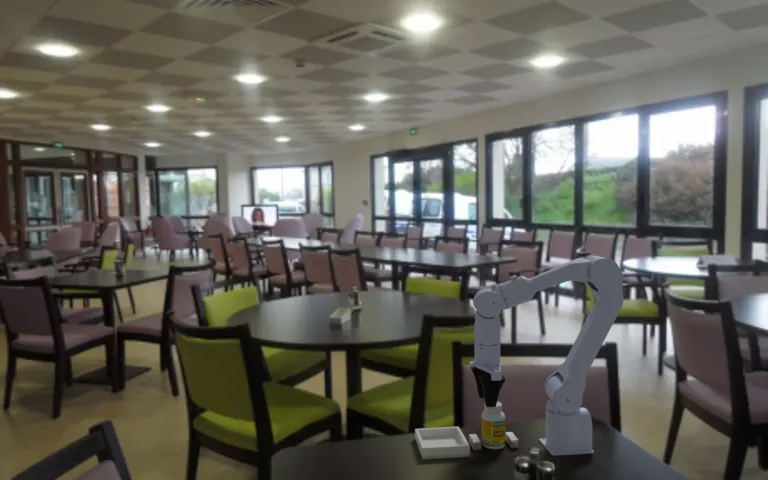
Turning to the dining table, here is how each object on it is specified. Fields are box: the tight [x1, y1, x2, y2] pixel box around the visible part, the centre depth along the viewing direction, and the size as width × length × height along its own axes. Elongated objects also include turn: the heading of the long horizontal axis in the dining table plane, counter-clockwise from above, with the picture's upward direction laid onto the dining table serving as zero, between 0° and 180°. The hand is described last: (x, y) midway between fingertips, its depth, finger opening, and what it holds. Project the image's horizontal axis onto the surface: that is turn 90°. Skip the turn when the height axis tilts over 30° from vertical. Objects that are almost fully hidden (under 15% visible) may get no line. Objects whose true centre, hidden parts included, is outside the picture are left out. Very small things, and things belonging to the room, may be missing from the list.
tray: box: [414, 426, 471, 460], centre depth 122 cm, size 10×10×2 cm
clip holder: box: [468, 431, 519, 451], centre depth 124 cm, size 10×4×2 cm, turn 95°
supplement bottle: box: [480, 400, 506, 450], centre depth 123 cm, size 5×5×10 cm
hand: (487, 402), depth 123 cm, fingers open, 5 cm apart
